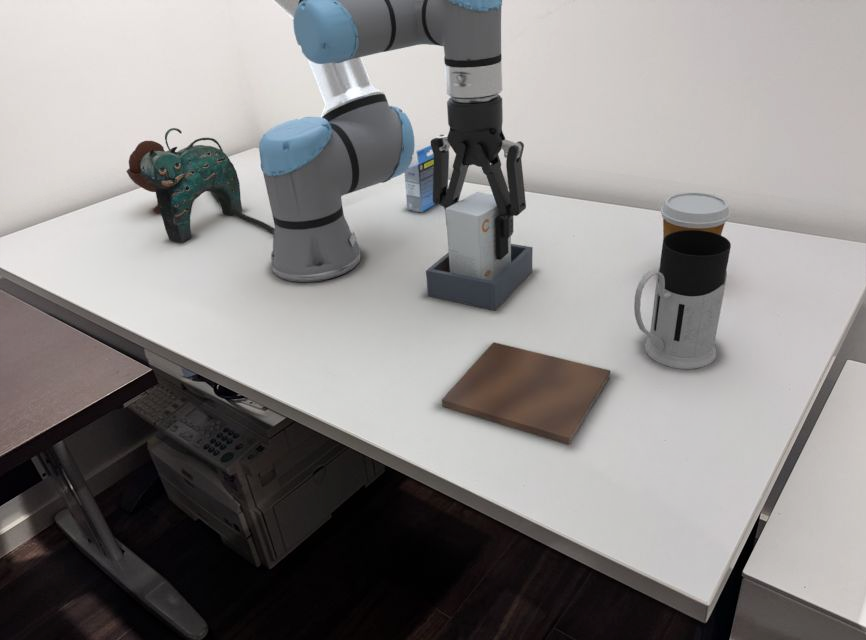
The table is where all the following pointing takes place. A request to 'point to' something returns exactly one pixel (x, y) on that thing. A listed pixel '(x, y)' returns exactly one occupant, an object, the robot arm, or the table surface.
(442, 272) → the bin
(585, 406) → the board
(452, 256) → the small box
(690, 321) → the glass holder
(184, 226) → the ceramic cat
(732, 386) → the table surface
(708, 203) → the disposable coffee cup
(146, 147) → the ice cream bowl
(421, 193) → the label tape box
